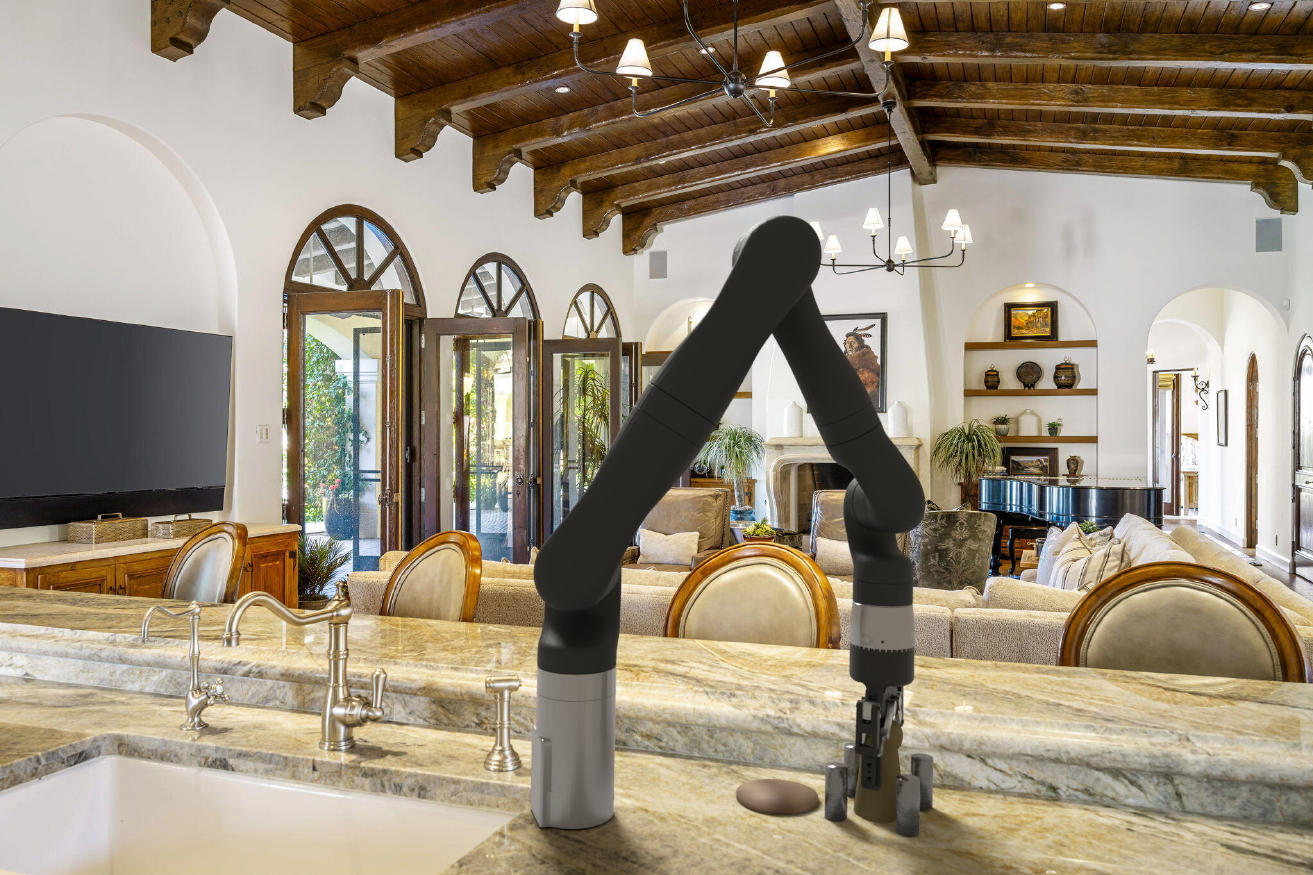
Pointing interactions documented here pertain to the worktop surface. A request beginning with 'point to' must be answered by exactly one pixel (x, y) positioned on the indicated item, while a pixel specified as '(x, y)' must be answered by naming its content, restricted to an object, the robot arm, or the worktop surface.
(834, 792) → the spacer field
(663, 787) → the worktop surface
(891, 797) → the brown tapered cylinder
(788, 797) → the smooth stone
